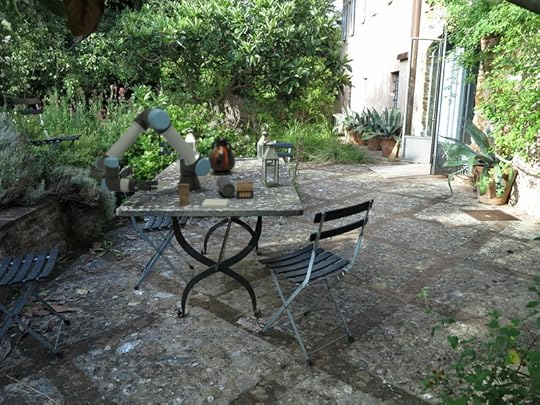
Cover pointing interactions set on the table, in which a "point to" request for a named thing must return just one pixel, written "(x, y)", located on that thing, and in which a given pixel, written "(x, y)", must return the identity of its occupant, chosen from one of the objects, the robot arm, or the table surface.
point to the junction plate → (215, 203)
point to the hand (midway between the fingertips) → (166, 185)
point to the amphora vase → (221, 157)
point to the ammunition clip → (244, 190)
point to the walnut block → (184, 194)
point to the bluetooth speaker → (226, 186)
